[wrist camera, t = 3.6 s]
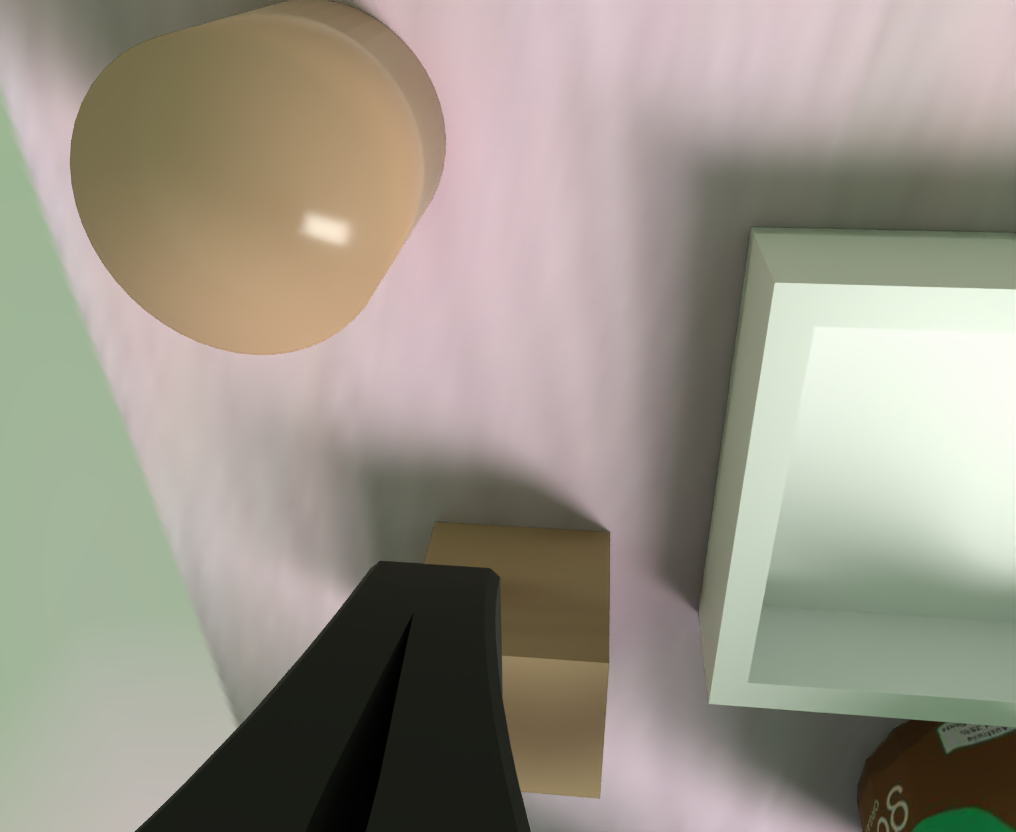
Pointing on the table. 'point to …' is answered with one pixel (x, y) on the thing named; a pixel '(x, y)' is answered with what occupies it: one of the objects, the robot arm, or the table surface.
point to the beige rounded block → (258, 171)
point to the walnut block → (546, 644)
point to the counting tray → (868, 480)
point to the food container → (940, 779)
